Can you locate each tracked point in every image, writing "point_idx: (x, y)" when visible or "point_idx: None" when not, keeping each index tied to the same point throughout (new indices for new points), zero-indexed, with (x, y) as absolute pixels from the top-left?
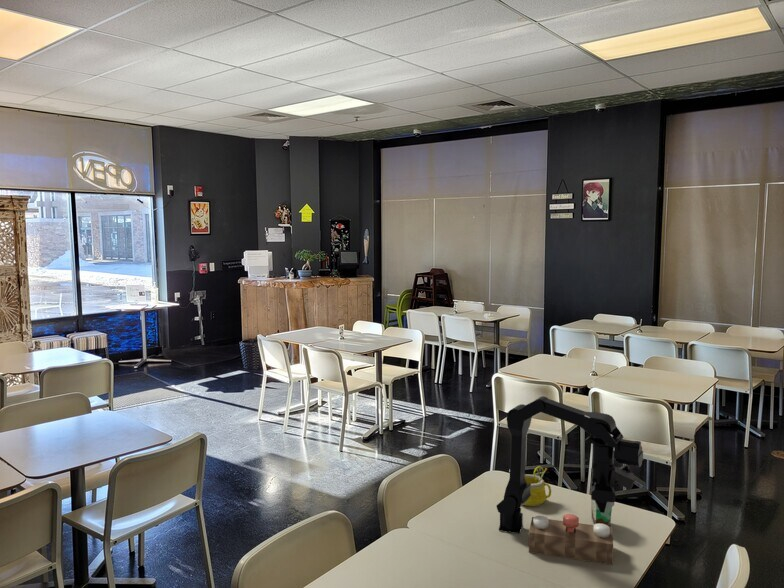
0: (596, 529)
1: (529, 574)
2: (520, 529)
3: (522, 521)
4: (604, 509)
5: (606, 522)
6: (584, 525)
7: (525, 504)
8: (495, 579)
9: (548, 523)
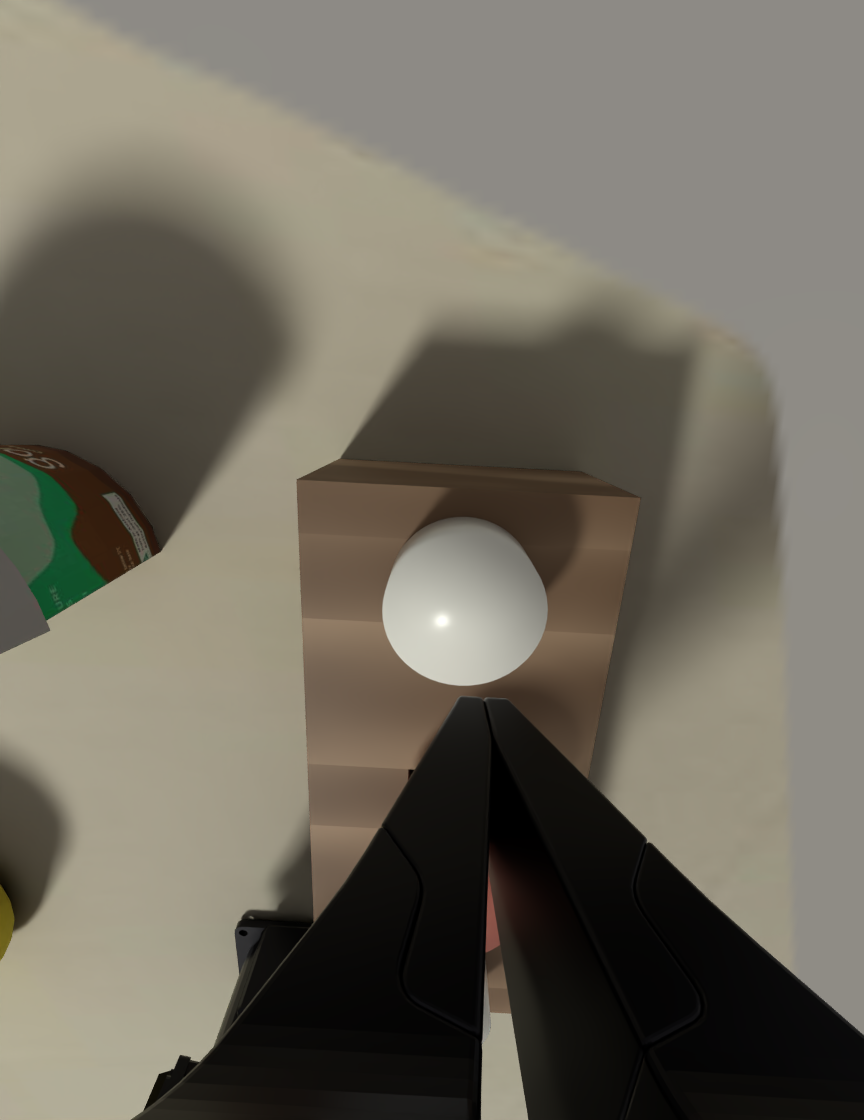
0: (521, 662)
1: (729, 877)
2: (308, 926)
3: (274, 960)
4: (542, 740)
5: (68, 488)
6: (334, 707)
7: (13, 922)
8: None
9: None
